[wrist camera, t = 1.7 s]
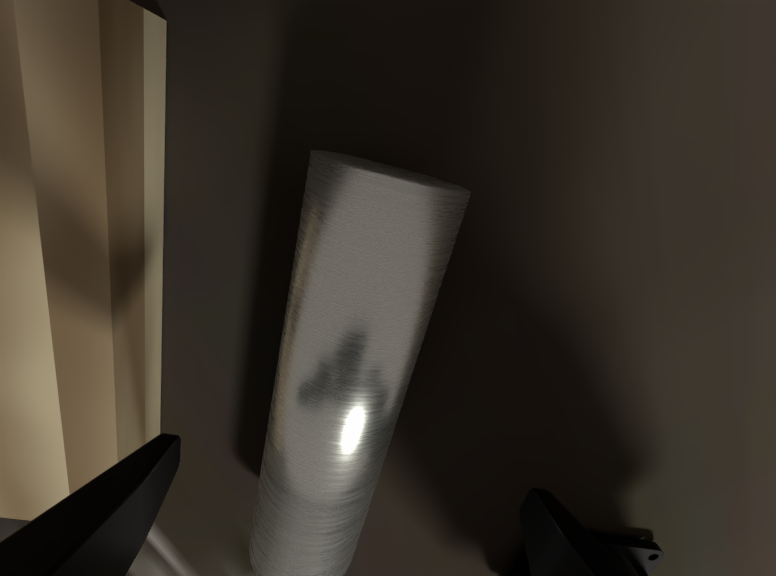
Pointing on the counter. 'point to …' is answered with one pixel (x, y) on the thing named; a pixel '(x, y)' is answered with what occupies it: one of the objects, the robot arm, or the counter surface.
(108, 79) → the cradle
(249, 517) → the counter surface
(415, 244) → the axle
